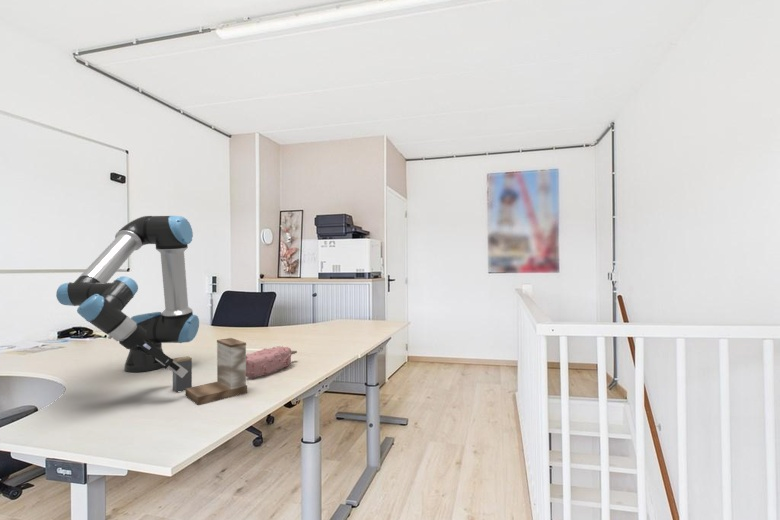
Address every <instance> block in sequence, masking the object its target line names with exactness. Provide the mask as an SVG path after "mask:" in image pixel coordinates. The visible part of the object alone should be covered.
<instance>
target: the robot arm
mask: <svg viewBox="0 0 780 520" xmlns="http://www.w3.org/2000/svg"><path fill="white" fill-rule="evenodd" d="M193 235H194V232H193V228H192V225H191V222H189V221H188V219H187V218H185V217H184V216H180V215H144V216H140V217H138V218H135V219H133V220H131V221H130V222H128V223H127V224H124V226H122V227H121V228H120V229H119V230H118V231H117V232H116V234H115V235H114V240H112V242H111V243H110V244H109V245H108V246H107V247H106V248H105V249H104V250H103V251H102V252H101V253H100V254H99V255H98V257H97V258H96V259H94V261H93V262H92V263H91V264H90V265H89V266H87V268H86V269H85V270H84V271H83V272H82V273H81V274H80V275H79V276H78V278H77V279H75V281H73V282H70V281H69V282H65V283H62V284H60V285H59V286H58V288H57V290H56V293H55V294H56V300H57V302H58V303H59V304H61V305H63V306H72V307H77V309H76V311H77V313H78V315H80V317H82V318H83V319H84V320H85V321H86V322H88V323H90V324H91V325H93V326H94V327H95V328H97V329H98V330H100V331H101V332H103V333H104V334H106V335H107V338H108V340H111V339H113V340H114V341H116V342H118V343H119V344H120V345H121V346H123V347H124V348H125V349H126V350H129V352H128V355H127V357H126V360H125V364H124V371H125V372H128V373H141V372H142V373H144V372H150V371H155V370H159V369H167V370H169V371H171V372H172V373H173V372H174V373H176V374H177V375H179V376H180V377H181V378H183V377H184V376H185V374H186V373H187V372H188V371H187V370H186V369H185V368H183V367H182V366H181V365H179V364H178V363H177V362H175V361H174V360H173V358H171V357H170V356H169V355H167V354H165V353H164V349H163V348H162V347H163V346H162V344H178V343H179V344H182V343H190V342H192V341H193V340H194V339H195V338H196V336H197V334H198V331H199V328H200V318H199V316H198V315H197V314H194V312H193V309H192V308H191V307H189V299H188V287H187V285H188V283H187V273H186V258H185V251H186V250H187V249H188V246H189V244H191V243H192V241H193V237H194V236H193ZM145 245H155V250H156V251H157V252H159V254H160V261H161V274H162V276H161V277H162V284H163V285H162V286H163V296H164V299H163V300H164V310H163V311H156V312H148V313H141V314H136V315H133V316H131V317H129V316H128V315H126V314H125V313H124V312H123V310H124V308H125V307H126V306H127V305H128V304H129V303H130V301H131V300H132V299H134V297H135V295H136V294H137V293H138V290H139V286H138V284H137V282H136V280H134V279H133V278H132V277H128V276H119V277H117V278H116V279H115V280H113V282H109V281H110V279H111V278H113V276H114V275H116V273H117V271H118V270H119V269H120V268H121V267H122V266H123V264H124V263H125V262H126V261H127V260H128V259H129V257H130V256H131V255H132V254H134V252H135V251H138V250H139V249H141V248H142V247H143V246H145Z"/></svg>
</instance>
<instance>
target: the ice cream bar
mask: <svg viewBox="0 0 780 520" xmlns="http://www.w3.org/2000/svg"><path fill="white" fill-rule="evenodd" d="M297 353H298V351H297V350H292V349H291V348H290V347H288V346H285V347H284V346H283V345H282V346H276V347H275V346H274V347H270V348H263V349H262V350H258V351H254V352H251V353H246V378H249V379H254V378H257V377H260V376H264V375H265V376H267V375H269V374H273V373H275V372H276V371H278V370H280V369H283V368H287V367H289V366H290V365H291V362H292V360H291V358H292V355H295V354H297Z"/></svg>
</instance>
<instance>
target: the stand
mask: <svg viewBox="0 0 780 520" xmlns="http://www.w3.org/2000/svg"><path fill="white" fill-rule="evenodd" d="M246 347H247V342H245V341H243V340H239V339H236V338H234V337H228V338H221V339H217V340H216V348H217V349H216V350H217V351H216V356H217V358H216V360H217V362H216V367H217V368H216V369H217V370H216V371H217V373H216V375H217V376H216V377H217V380H216V381H214V382H209V383H205V384H198V385H196V386H192V387H190V388H185V394H184V395H186V396H187V397H186V396H185V397H186V398H187V399H188V400H190V399H191V400H190V401H192V402H193V403H194V402H195V404H196V405H198V406H199V405H201V406H202V405H205V404H208V403H213V402H216V401H220V399H221V400H224V398H225V399H228V397H229V398H232V396H233V397H236V395H237V396H240V394H241V395H244V394H247V393H248V385H247V377H246V354H247V353H246V352H247V348H246Z"/></svg>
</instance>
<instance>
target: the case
mask: <svg viewBox="0 0 780 520" xmlns="http://www.w3.org/2000/svg"><path fill="white" fill-rule="evenodd" d="M172 359H173V360H174V361H175V362H177V363H178V364H179V365H181V366H182V367H183V368H185V369H186V370H187V371H188V372H187V373H186V374H185V376H184V377H183V378H181V377H180V376H179V375H177V374H176V373H174V372H173V371H172V391H174V392H175V391H176V392H175V393H179V392H178V391H181V392H184V391H183V390H185V388H190V387H193V385H192V384H193V383H192V381H193V380H192V379H193V377H192V375H193V371H192V368H193V365H192V364H193V363H192V357H190V356H189V355H188V356H182V357H181V356H180V357H175V358H172Z"/></svg>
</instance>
